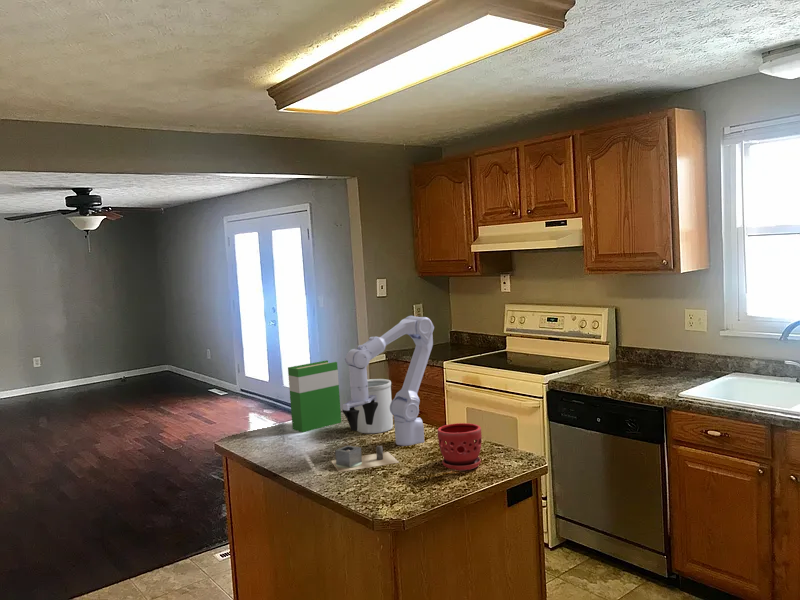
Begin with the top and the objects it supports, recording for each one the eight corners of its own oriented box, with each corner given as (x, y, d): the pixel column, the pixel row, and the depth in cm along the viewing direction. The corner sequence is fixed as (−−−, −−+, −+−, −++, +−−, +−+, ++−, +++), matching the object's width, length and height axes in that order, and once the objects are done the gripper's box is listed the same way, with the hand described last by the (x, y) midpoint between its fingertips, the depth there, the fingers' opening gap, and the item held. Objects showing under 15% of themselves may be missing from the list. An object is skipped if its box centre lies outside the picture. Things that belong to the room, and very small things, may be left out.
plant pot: (491, 464, 201) (489, 425, 200) (463, 476, 191) (461, 435, 191) (459, 456, 210) (456, 419, 209) (430, 467, 201) (428, 429, 200)
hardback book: (330, 419, 266) (326, 360, 265) (341, 422, 261) (337, 362, 259) (292, 429, 255) (287, 367, 254) (302, 432, 250) (297, 369, 248)
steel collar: (348, 459, 210) (347, 445, 210) (361, 461, 206) (360, 447, 206) (336, 464, 205) (335, 450, 205) (349, 467, 202) (348, 452, 202)
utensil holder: (346, 430, 249) (343, 384, 248) (376, 421, 259) (373, 377, 258) (372, 436, 238) (368, 388, 237) (402, 427, 248) (399, 381, 247)
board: (388, 454, 216) (387, 438, 216) (399, 465, 205) (398, 448, 204) (331, 463, 210) (329, 446, 210) (339, 475, 199) (337, 457, 199)
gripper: (353, 391, 207) (356, 434, 208) (382, 382, 218) (385, 423, 219) (336, 390, 211) (339, 431, 212) (366, 381, 223) (369, 420, 224)
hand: (361, 427), depth 216 cm, fingers open, 7 cm apart
